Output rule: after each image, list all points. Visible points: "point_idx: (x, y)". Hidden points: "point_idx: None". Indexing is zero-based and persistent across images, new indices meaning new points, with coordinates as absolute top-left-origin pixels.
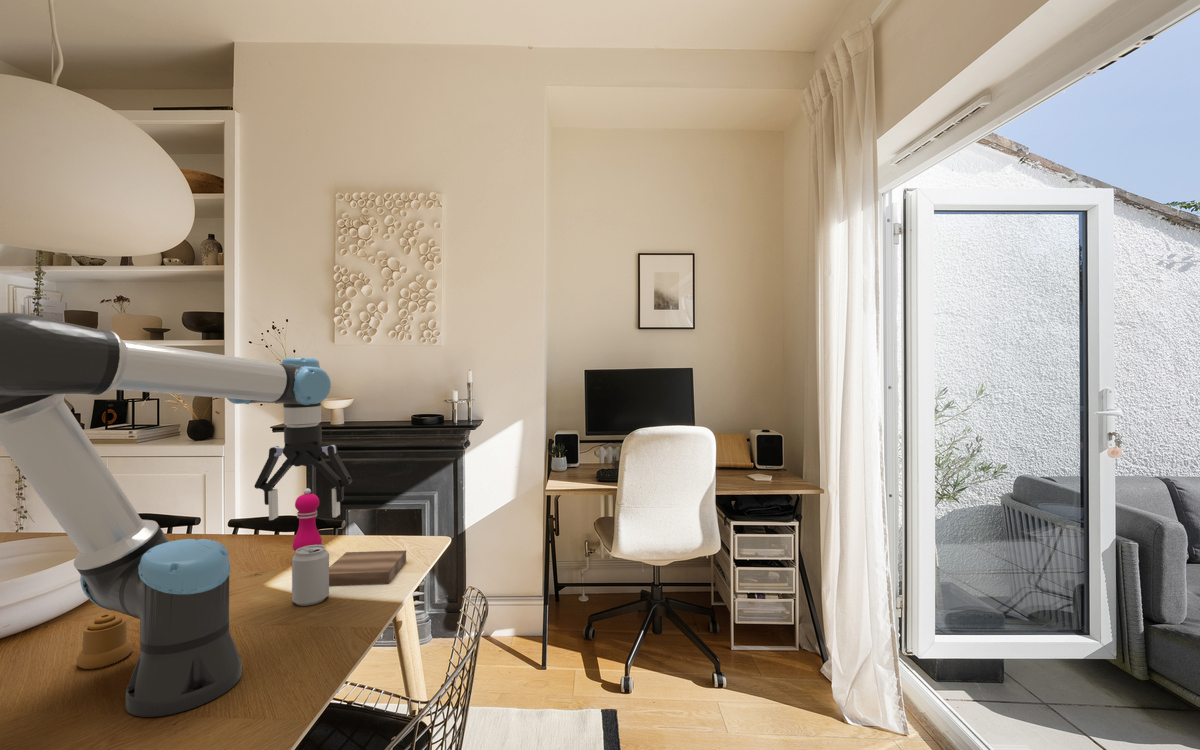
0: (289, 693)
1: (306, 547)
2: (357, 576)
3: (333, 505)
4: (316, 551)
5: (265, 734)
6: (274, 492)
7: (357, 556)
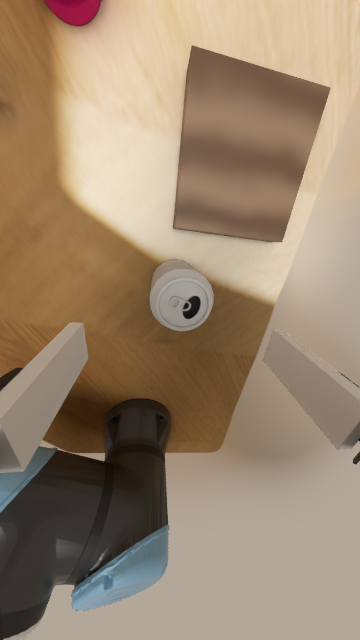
0: (207, 426)
1: (173, 299)
2: (232, 235)
3: (289, 386)
4: (199, 322)
5: (205, 449)
6: (23, 434)
7: (224, 109)
